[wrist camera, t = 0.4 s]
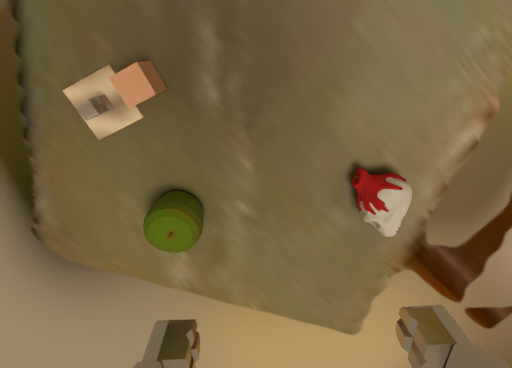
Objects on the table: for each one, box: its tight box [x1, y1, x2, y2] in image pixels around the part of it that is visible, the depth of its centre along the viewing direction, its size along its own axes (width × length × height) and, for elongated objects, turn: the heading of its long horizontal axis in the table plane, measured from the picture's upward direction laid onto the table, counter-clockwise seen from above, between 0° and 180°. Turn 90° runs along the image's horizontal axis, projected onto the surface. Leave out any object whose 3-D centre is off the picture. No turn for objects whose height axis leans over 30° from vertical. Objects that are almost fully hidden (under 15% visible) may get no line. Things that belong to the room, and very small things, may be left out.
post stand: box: [63, 64, 144, 140], centre depth 48 cm, size 10×10×6 cm
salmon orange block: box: [109, 61, 167, 108], centre depth 46 cm, size 5×5×7 cm
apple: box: [143, 191, 203, 253], centre depth 56 cm, size 11×11×11 cm
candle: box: [351, 168, 412, 237], centre depth 56 cm, size 9×11×15 cm
